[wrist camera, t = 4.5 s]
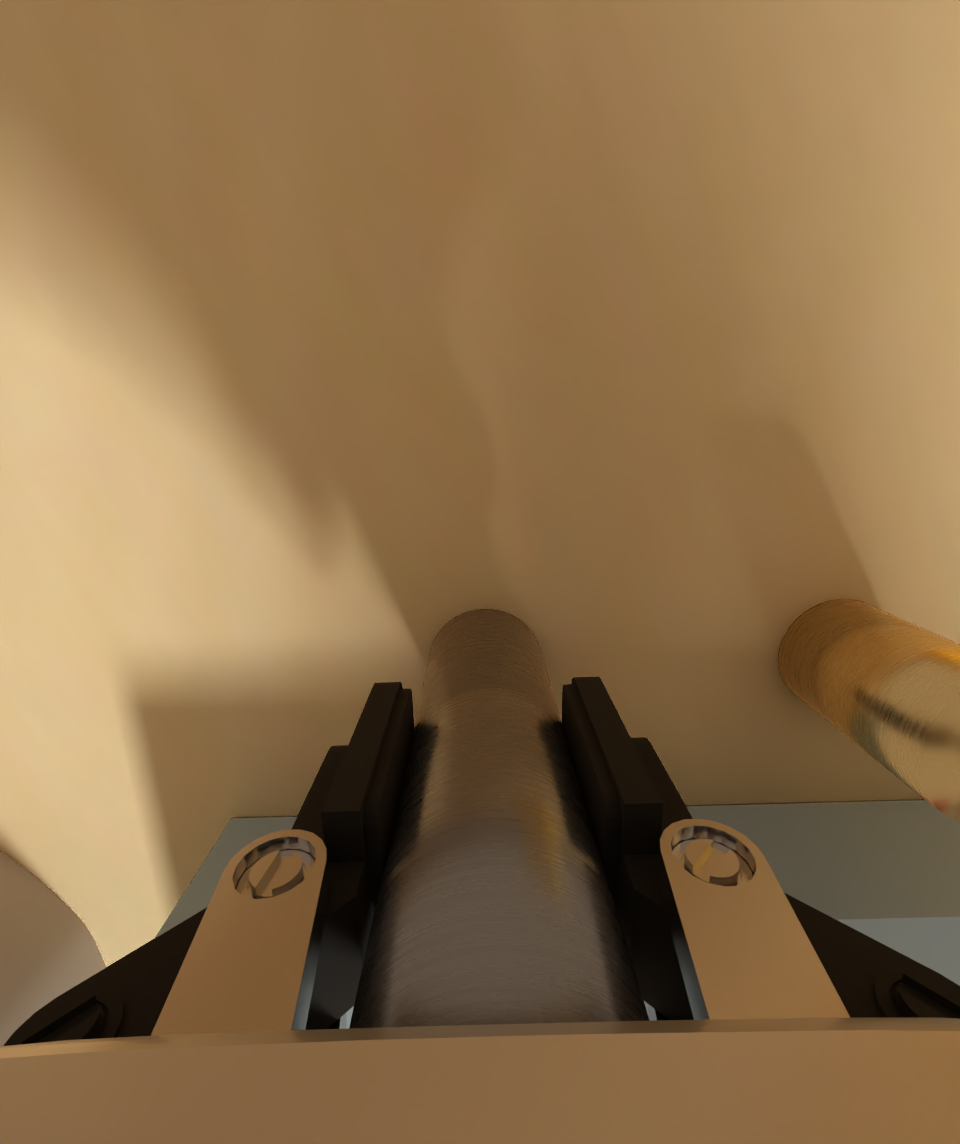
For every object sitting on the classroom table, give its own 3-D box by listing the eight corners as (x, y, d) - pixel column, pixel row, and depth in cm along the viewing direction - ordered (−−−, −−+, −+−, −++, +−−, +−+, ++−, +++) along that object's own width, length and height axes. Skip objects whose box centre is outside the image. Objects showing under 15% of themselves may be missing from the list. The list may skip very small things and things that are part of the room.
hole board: (1005, 797, 16) (1171, 911, 12) (922, 1116, 20) (1030, 1282, 16) (232, 818, 16) (155, 937, 12) (285, 1132, 20) (239, 1302, 16)
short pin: (899, 597, 15) (1109, 678, 10) (880, 701, 15) (1065, 822, 11) (785, 600, 15) (937, 682, 10) (772, 704, 15) (907, 827, 11)
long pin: (541, 607, 15) (791, 1271, 3) (541, 711, 15) (737, 1549, 4) (426, 610, 15) (233, 1284, 3) (432, 713, 15) (295, 1562, 4)
